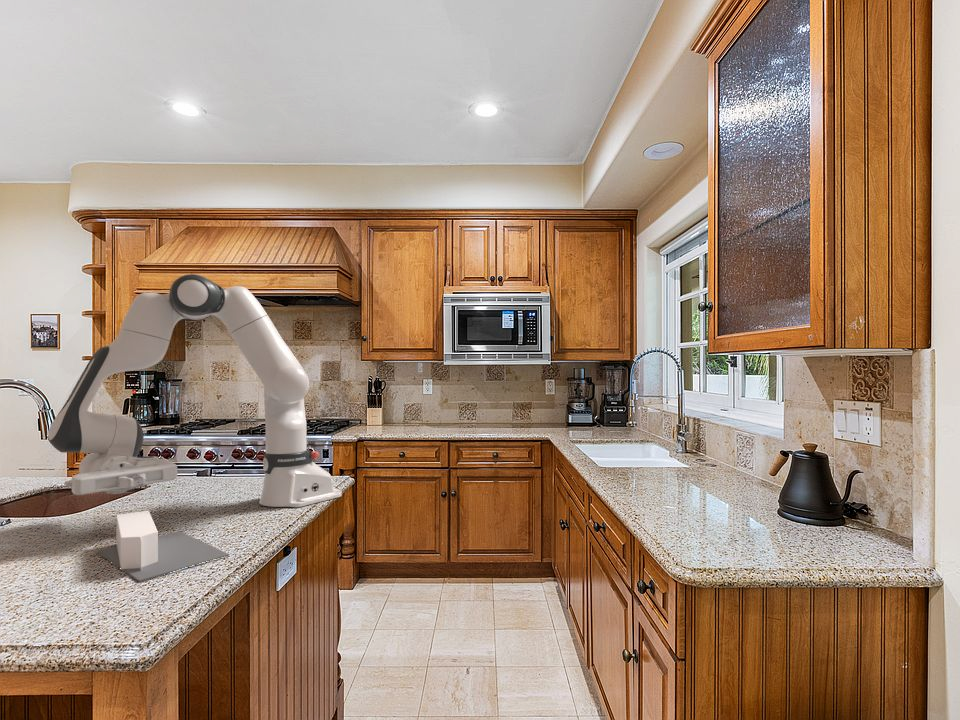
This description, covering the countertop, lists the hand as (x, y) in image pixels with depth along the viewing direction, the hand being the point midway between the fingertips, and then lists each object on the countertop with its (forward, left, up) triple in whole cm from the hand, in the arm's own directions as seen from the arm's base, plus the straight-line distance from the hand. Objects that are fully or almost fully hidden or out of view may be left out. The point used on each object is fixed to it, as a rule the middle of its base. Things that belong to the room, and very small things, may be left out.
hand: (138, 482), depth 114 cm
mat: (-2, +13, -13) cm, 18 cm away
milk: (+1, -1, -10) cm, 10 cm away
